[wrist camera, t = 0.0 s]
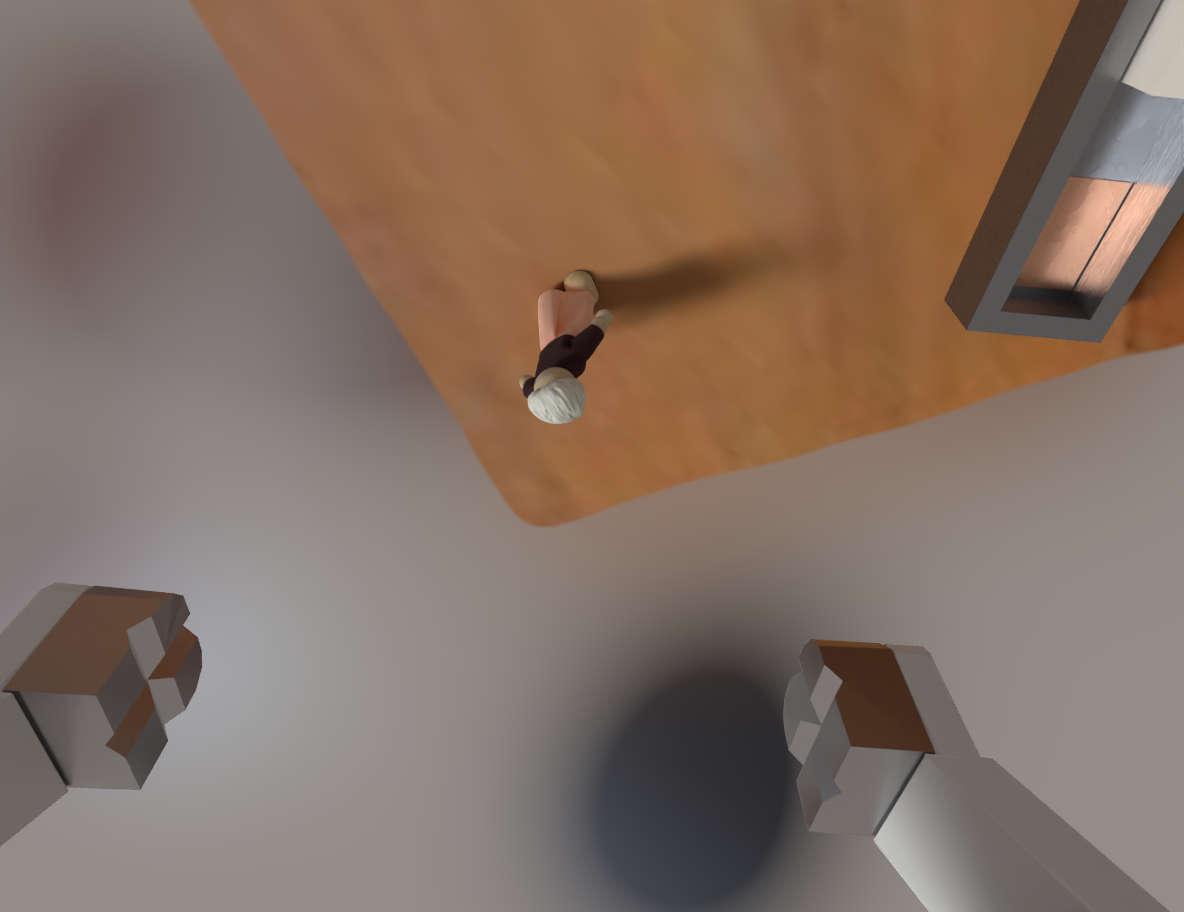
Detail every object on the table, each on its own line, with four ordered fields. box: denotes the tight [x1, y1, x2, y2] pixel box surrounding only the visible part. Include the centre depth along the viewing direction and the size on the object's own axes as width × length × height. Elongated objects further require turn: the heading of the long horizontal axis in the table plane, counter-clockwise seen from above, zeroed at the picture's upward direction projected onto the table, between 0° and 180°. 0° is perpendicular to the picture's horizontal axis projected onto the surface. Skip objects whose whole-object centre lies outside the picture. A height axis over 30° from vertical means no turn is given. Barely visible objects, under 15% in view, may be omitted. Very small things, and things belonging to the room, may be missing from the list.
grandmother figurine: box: [519, 271, 613, 424], centre depth 45 cm, size 8×4×13 cm, turn 145°
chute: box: [945, 0, 1184, 343], centre depth 40 cm, size 24×9×4 cm, turn 175°
